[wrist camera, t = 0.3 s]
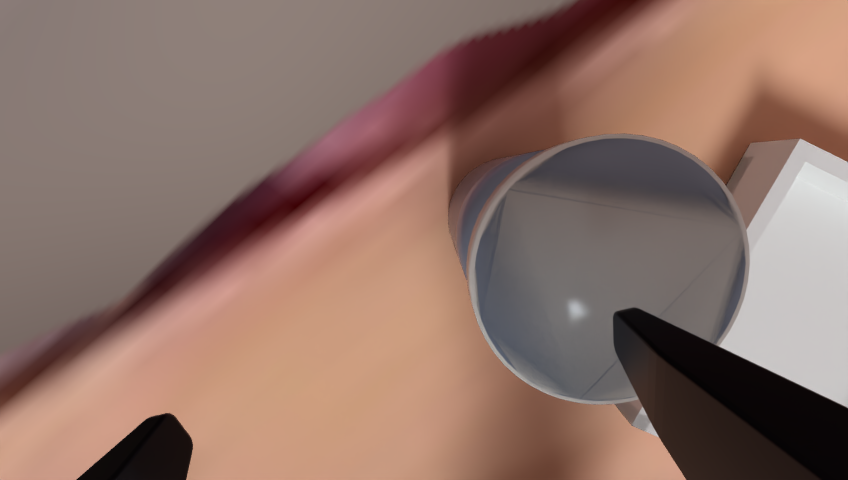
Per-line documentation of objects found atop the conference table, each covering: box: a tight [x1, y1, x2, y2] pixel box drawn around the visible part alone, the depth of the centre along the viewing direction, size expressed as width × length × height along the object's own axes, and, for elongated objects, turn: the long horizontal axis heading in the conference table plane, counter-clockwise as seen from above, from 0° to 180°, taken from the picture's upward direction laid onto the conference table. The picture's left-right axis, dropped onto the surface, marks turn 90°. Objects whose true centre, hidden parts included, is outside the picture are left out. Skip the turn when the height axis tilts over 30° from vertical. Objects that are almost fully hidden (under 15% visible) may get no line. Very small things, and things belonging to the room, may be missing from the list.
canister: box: [448, 134, 750, 405], centre depth 17 cm, size 7×7×13 cm
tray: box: [615, 139, 848, 437], centre depth 22 cm, size 16×14×3 cm
